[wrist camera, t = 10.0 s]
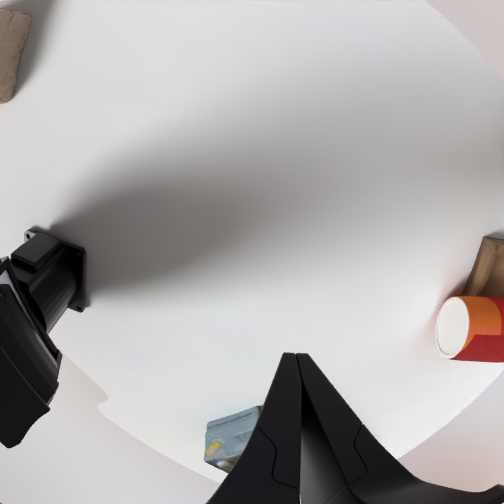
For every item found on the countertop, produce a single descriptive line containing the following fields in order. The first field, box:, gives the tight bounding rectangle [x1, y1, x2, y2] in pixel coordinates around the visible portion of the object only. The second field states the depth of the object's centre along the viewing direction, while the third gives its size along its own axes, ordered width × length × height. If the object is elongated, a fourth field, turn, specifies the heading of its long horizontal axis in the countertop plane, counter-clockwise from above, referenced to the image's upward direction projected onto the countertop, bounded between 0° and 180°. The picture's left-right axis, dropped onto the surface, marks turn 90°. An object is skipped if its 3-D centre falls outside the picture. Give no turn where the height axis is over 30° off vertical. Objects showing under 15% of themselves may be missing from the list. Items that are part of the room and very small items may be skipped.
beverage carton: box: [204, 406, 300, 490], centre depth 31 cm, size 8×19×7 cm, turn 35°
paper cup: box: [434, 296, 504, 362], centre depth 20 cm, size 8×8×14 cm
